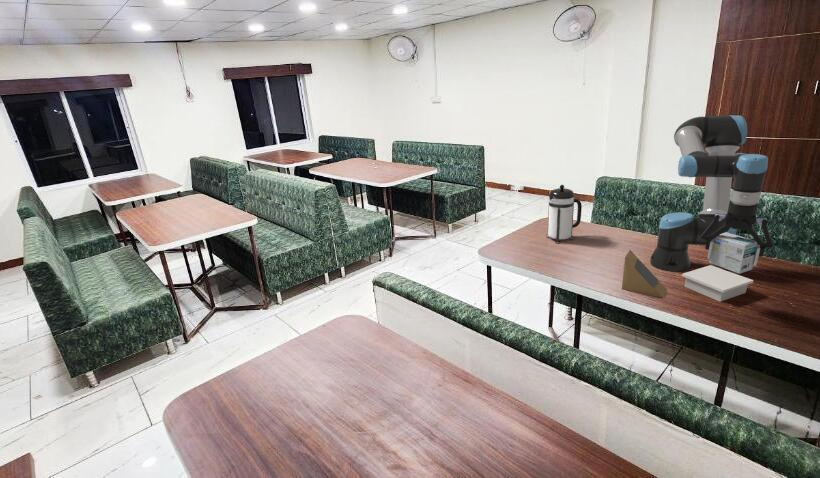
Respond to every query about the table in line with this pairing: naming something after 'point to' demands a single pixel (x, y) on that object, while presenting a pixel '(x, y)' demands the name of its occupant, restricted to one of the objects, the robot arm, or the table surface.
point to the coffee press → (562, 213)
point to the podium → (716, 282)
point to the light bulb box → (733, 252)
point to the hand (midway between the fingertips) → (730, 261)
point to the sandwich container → (640, 278)
